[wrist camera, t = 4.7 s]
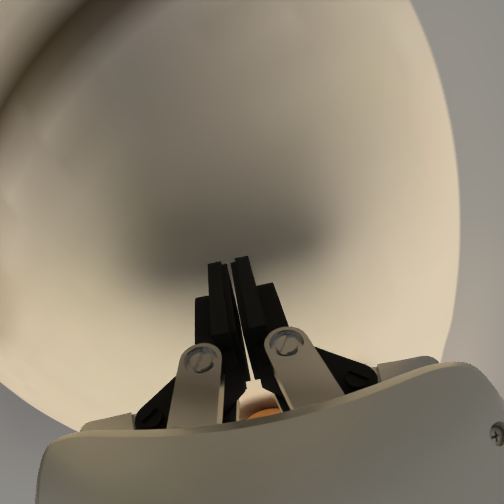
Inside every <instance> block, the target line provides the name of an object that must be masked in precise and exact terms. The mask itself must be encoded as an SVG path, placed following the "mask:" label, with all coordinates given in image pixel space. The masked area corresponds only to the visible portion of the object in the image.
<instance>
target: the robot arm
mask: <svg viewBox="0 0 504 504" xmlns="http://www.w3.org/2000/svg"><path fill="white" fill-rule="evenodd" d="M235 261H236V262H232V263H231V269H232V275H233V281H234V287H235V293H236V298H237V304H238V309H237V305H236V301H235V297H234V293H233V289H232V284H231V280H230V276H229V272H228V267H227V264H222V263H221V261H220V262H215V263H210V264H208V284H209V296H204V297H198V298H196V299H195V345H193V346H191V347H189V348H188V349H187V350H185V351H184V353H183V354H182V355H181V358H180V361H179V366H178V370H177V375H176V376H175V377H174V378H173V379H172V380H171V381H170V382H169V383H168V384H167V385H166V386H165V387H164V388H163V389H162V390H160V391H159V392H158V393H157V394H156V395H155V396H154V397H153V398H152V399H151V400H150V401H148V402H147V403H146V404H145V405H144V406H143V407H142V408H141V409H140V410H139V411H138V413H137V414H132V413H127V414H123V415H118V416H114V417H110V418H105V419H100V420H95V421H91V422H88V423H86V424H85V425H84V426H83V427H82V428H81V430H80V432H76V433H72V434H68V435H65V436H63V437H60V438H58V439H56V440H54V441H53V442H51V443H50V444H49V446H47V448H46V450H45V452H44V454H43V457H42V459H41V463H40V468H39V472H38V478H37V485H36V495H35V504H504V401H503V399H502V397H501V396H500V395H499V393H498V391H497V390H496V389H495V387H494V386H493V385H492V383H491V382H490V381H489V380H488V379H487V377H486V376H485V375H484V374H483V373H482V372H481V371H480V370H479V369H477V368H476V367H475V366H473V365H471V364H468V363H464V362H444V363H439V362H438V361H437V360H436V359H434V358H433V357H430V356H420V357H415V358H410V359H405V360H400V361H394V362H388V363H382V364H378V365H377V367H372V368H371V367H369V366H367V365H365V364H362V363H359V362H356V361H353V360H350V359H347V358H345V357H342V356H339V355H336V354H333V353H330V352H328V351H325V350H322V349H320V348H317V347H314V346H313V344H312V343H311V341H310V339H309V338H308V336H307V335H306V334H305V333H304V332H303V331H302V330H300V329H298V328H295V327H289V326H288V323H287V320H286V317H285V315H284V312H283V309H282V306H281V303H280V301H279V298H278V295H277V292H276V290H275V287H274V284H273V283H268V284H263V285H258V286H256V284H255V280H254V276H253V273H252V269H251V265H250V262H249V258H248V256H244V257H239V258H235ZM238 310H239V314H238ZM239 316H240V319H239ZM240 321H241V324H240ZM241 327H242V330H241ZM242 331H243V336H244V340H245V343H246V347H247V351H248V355H249V359H250V363H251V367H252V370H253V374H254V378H255V380H257V379H260V380H261V384H262V388H264V389H266V390H268V391H270V392H272V393H273V395H274V398H275V400H276V402H277V405H278V407H279V409H280V411H281V413H277V414H273V415H268V416H263V417H258V418H253V419H247V420H241V421H239V411H240V402H239V398H240V397H241V395H242V394H243V393H244V392H245V389H247V387H246V381H251V379H250V374H249V369H248V363H247V358H246V352H245V347H244V341H243V336H242Z"/></svg>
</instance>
